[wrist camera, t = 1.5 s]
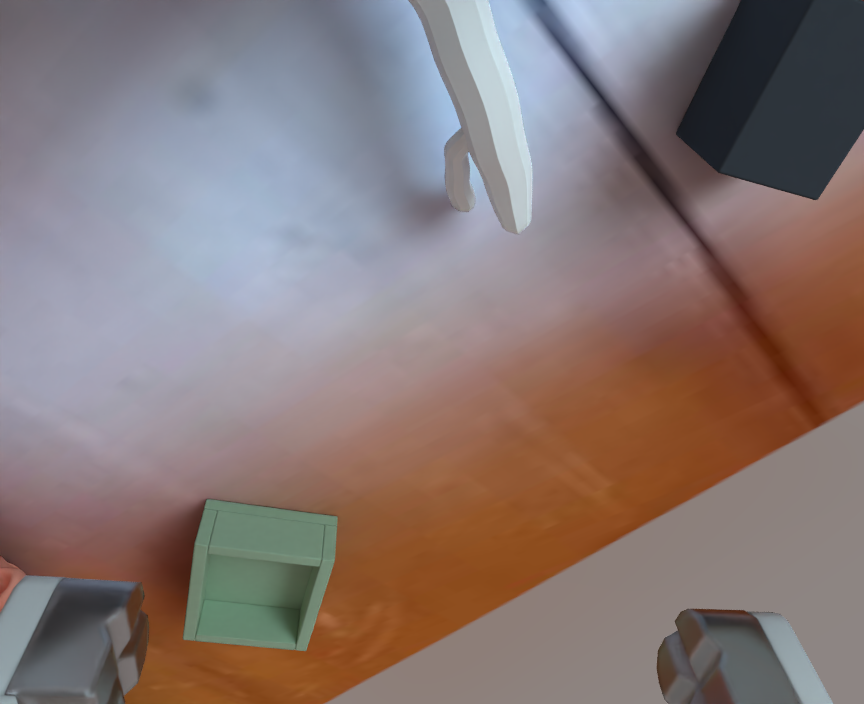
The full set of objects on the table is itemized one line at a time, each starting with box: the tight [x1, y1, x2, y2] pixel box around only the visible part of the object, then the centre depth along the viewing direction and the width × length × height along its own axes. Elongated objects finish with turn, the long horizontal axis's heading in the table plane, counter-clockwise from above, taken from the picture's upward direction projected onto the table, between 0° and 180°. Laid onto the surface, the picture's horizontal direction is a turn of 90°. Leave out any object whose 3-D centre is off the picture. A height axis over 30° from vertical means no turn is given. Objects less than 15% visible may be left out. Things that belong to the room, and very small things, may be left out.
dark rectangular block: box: [676, 0, 864, 200], centre depth 20 cm, size 4×5×4 cm
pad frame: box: [183, 499, 337, 651], centre depth 33 cm, size 6×8×3 cm
